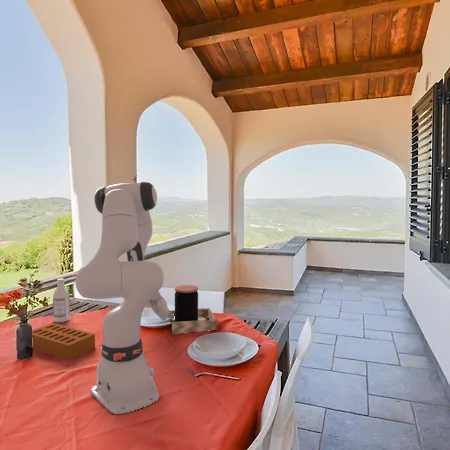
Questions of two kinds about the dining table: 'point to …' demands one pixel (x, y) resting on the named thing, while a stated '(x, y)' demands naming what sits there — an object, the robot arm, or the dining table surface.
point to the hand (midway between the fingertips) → (172, 317)
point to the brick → (62, 341)
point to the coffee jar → (186, 303)
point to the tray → (195, 323)
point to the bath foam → (61, 303)
